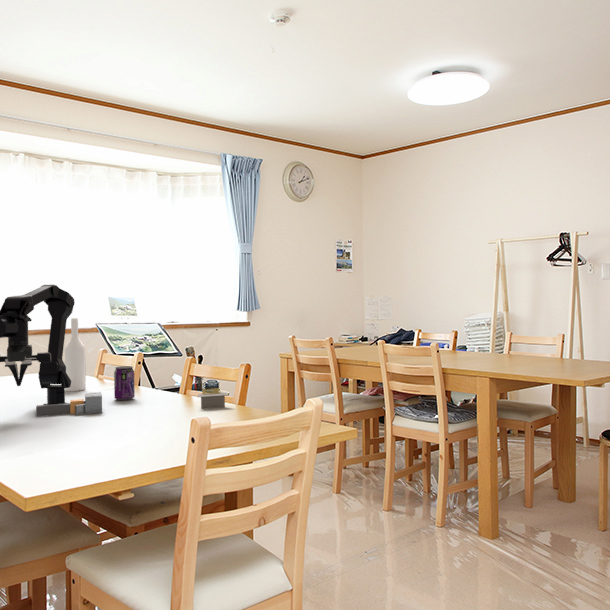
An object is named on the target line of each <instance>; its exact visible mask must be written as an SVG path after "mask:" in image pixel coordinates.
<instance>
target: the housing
mask: <svg viewBox="0 0 610 610" xmlns="http://www.w3.org/2000/svg"><path fill="white" fill-rule="evenodd" d="M102 413H103V393H102V392H101V391H97V392H95V391H94V392H85V393H84V404H80V405H75V416H80V415H89V414H91V415H92V414H93V415H94V414H102Z"/></svg>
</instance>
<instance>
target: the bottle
mask: <svg viewBox="0 0 610 610" xmlns="http://www.w3.org/2000/svg"><path fill="white" fill-rule="evenodd" d="M70 321H71V322H70V324H71V325H70V326H71V327H70V328H71V329H70V335H71V336H70V339H69V340H68V342H67V343H66V345H65V347H64V364H65V366H66V373H67V375H68V377H69V378H70V380H71V386H70V387H69V388H65V392H79V390H80V391H84V390H85V391H86V389H87V387H86V385H87V384H86V383H87V382H86V381H87V380H86V379H87V378H86V376H87V375H86V374H87V373H86V367H87V366H86V346H85V345H84V343H83V342H82V340H81V339H80V337H79V319H78V317H75V318H74V317H72V318H71V319H70Z"/></svg>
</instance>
